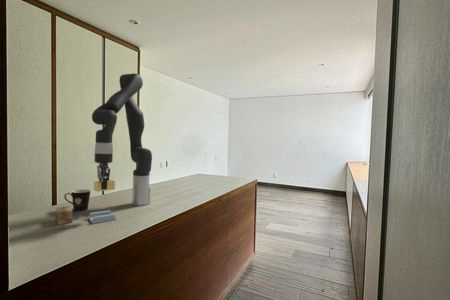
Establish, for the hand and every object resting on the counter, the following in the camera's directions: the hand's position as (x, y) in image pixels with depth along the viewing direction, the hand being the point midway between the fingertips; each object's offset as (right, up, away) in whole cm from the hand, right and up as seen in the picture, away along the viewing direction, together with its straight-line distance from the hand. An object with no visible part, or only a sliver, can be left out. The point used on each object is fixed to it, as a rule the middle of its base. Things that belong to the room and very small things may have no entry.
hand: (102, 188), depth 114 cm
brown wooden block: (-15, -14, -4) cm, 22 cm away
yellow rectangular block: (0, -1, 0) cm, 1 cm away
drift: (-15, -15, -3) cm, 21 cm away
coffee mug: (-20, -14, +14) cm, 28 cm away
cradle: (-1, -15, +1) cm, 15 cm away
